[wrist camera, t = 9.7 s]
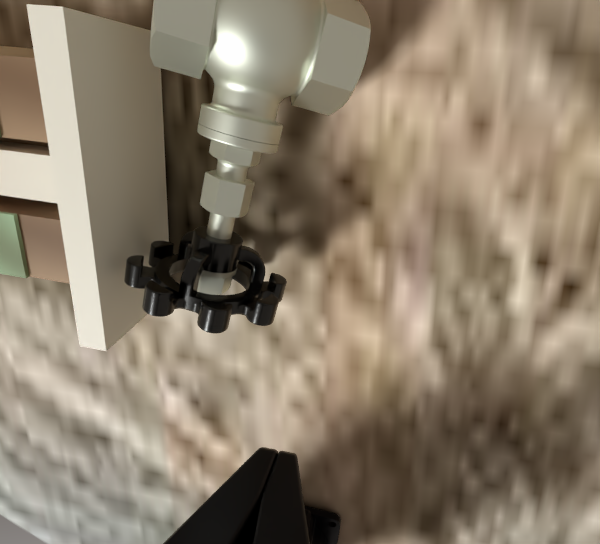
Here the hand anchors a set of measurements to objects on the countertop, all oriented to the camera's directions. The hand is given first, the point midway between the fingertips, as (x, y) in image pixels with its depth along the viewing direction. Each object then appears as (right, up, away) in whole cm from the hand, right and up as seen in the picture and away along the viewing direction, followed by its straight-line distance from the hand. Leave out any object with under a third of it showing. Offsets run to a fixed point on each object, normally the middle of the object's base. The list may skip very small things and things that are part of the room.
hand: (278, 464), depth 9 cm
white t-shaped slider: (-12, +10, +11) cm, 19 cm away
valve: (+1, +8, +7) cm, 11 cm away
